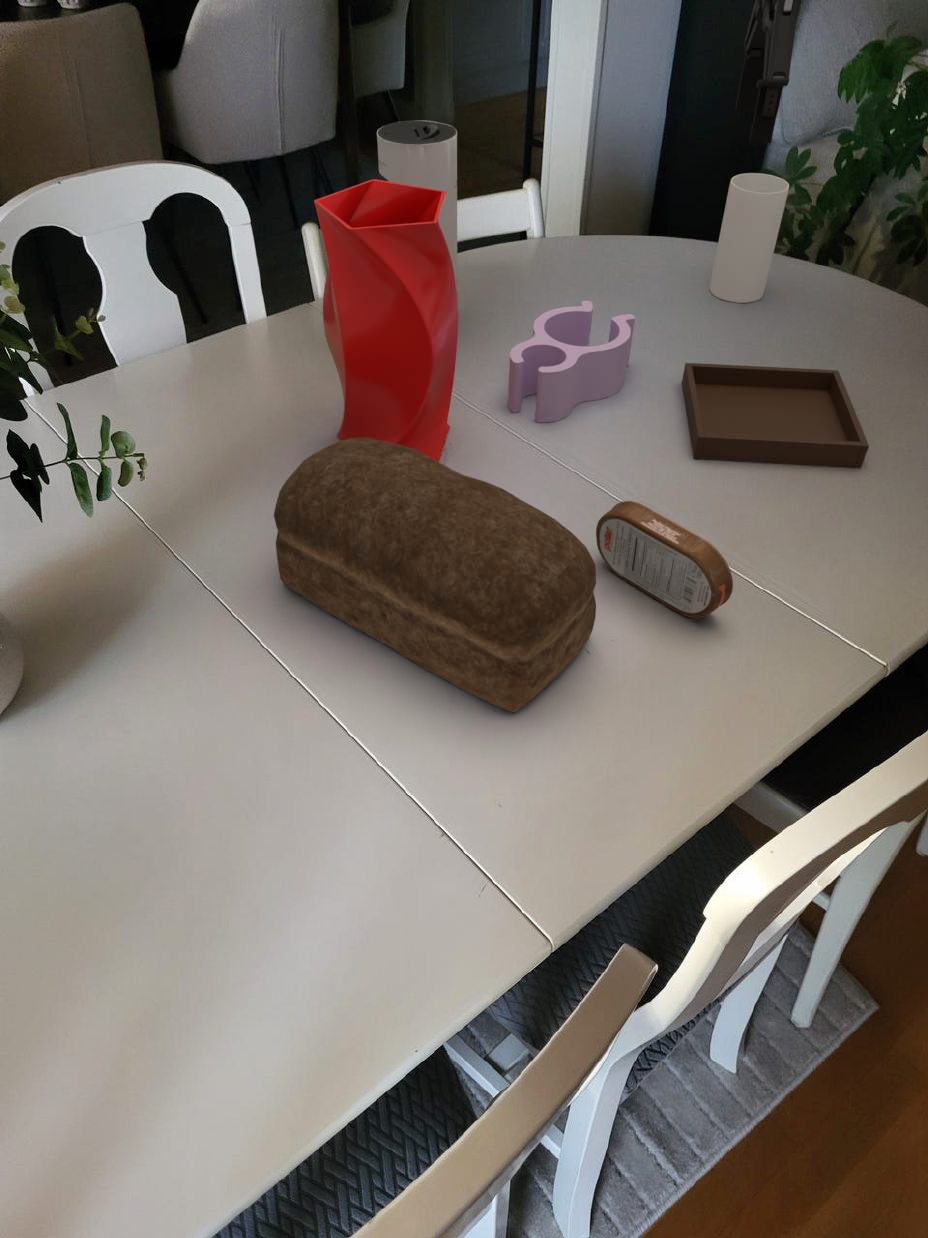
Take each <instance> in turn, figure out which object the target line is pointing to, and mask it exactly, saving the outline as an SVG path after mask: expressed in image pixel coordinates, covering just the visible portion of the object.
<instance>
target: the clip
mask: <svg viewBox="0 0 928 1238" xmlns="http://www.w3.org/2000/svg"><path fill="white" fill-rule="evenodd" d="M593 312H594V306H593V302H592V301H590V300H582V301H581V303H580V305H578V306H573V305H572V306H564V307H558V308H553V309H551V310H547V311H545V312H544V313H541V314H540V315H539V316H538V317H536V319H535V320H534V322H533V327H532V337H531V338H530V339H528V340H525V341H522V342H520V343H518V344H516V345H514V346H513V348H511V350H510V352H509V367H508V369H509V370H508V387H507V388H508V389H507V391H508V392H507V407H508V410H509V411H510V413H513V414H514V413H515V414H516V413H519V412H521V411H522V399H524V398H525V397H527V396H530V395H536V398H535V399H536V400H535V411H534V412H535V413H534V421H535V422H536V423H554V422H557V421H560V420H563V419H565V418H567V417H568V416H569V415H570V414H571V413H572V411H573V409H574V407H575V406H576V405H578V404H581V403H584V402H592V401H599V400H603V399H606V398H608V397H611V396H613V395H615V394H617V393H618V392H619V391H620V390H621V389H622V387H623V385H624V382H625V375H626V368H628V367H629V363H630V357H631V356H630V355H631V349H632V341H633V335H634V328H635V322H636V316H635V315H634V314H631V313H627V314H619V315H615V316H612V317H611V318H610V328H609V336H608V342H607V343H604V344H600V345H590V337H591V329H592V321H593Z"/></svg>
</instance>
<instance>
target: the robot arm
mask: <svg viewBox="0 0 928 1238" xmlns="http://www.w3.org/2000/svg"><path fill="white" fill-rule="evenodd" d="M799 5H800V0H755V1H754V5H753V9H752V12H751V16H750V20H749V23H748V27H747V30H746V33H745V37H744V39H743V47H744V56H745V57H744V60H743V65H742V70H741V76H740V80H739V87H738V92H737V98H736V102H735V107H734V108H735V109H734V110H735V112H751V113H752V112H753V119H752V124H751V127H750V134H749V138H748V141H749V143H756V144H757V143H759V144H771V143H772V140H773V136H774V130H775V126H776V121H777V117H778V111H779V108H780V102H781V97H782V93H783V89H784V87H788V85H789V82H790V72H791V64H792V57H793V48H794V42H795V41H794V39H795V32H796V25H797V15H798V10H799Z"/></svg>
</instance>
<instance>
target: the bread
mask: <svg viewBox="0 0 928 1238" xmlns="http://www.w3.org/2000/svg"><path fill="white" fill-rule="evenodd" d="M273 519H274V522H275V526H276V529H277V533H276V537H275V538H276V539H275V550H276V558H277V559H276V560H277V567H278V572H279V579H280V580H281V582H282V584H283V585H284V586H285V587H286V588H288V589H290V590H292V591H294V592H295V593H296V594H299V595H300V596H302V597H304V598H305V599H306V600H308V601H310V602H312V603H313V604H314V605H316V606H318V607H319V608H321V609H323V610H324V611H325V612H327V613H328V614H331V615H333V616H334V617H336V618H337V619H339V620H341V621H343V622H344V623H346V624H348V625H349V626H352V627H354V628H356V629H357V630H359V631H361V632H363V633H364V634H366V635H368V636H369V637H372V638H374V639H376V640H377V641H379V642H381V643H382V644H385V645H386V646H389V647H390V648H391V649H393V650H395V651H397V652H398V653H399V654H401V655H403V656H404V657H406V658H407V659H409V660H410V661H412V662H413V663H415V664H417V665H418V666H420V667H421V668H424V669H426V671H427V670H428V671H429V672H431V673H433V674H435V675H437V676H439V677H441V678H442V679H444V680H446V681H448V682H450V683H451V684H453V685H455V686H457V687H458V688H460V689H462V690H464V691H466V692H468V693H470V694H472V695H474V696H476V697H478V698H479V699H482V700H483V701H484V702H485V701H486V702H487V703H490V704H491V705H493V706H496V707H498V708H500V709H502V710H505V711H509V712H512V713H515V712H516V711H518V710H520V709H521V708H523V707H524V706H526V704H528V703H529V702H530V701H531V700H533V699H534V698H535V697H536V696H538V694H539V693H541V692H542V690H544V689H545V688H546V687H547V686H548V685H549V684H550V683H551V682H552V681H553V680H554V679H555V678H556V677H557V676H558V675H559V674H560V673H561V672H562V671H563V670H564V669H565V668H567V666H568V665H569V664H570V663H571V662H572V661H573V659H575V657H576V656H577V655H578V654H579V652H580V651H581V650H582V648H583V647H584V646H585V645H586V644H587V642H588V641H589V640H590V637H591V635H592V633H593V631H594V626H595V622H596V616H597V615H596V613H597V603H596V598H595V589H596V586H597V565H596V563H595V561H594V559H593V557H592V555H591V553H590V551H589V550H588V547H587V546H586V545H585V544H584V543H583V542H582V541H581V540H580V539H579V538H578V537H577V536H576V535H575V534H574V533H573V532H572V531H570V529H568V528H567V527H565V526H564V525H563V524H561V522H559V521H558V520H556V519H555V518H554V517H552V516H550V515H549V514H547V513H546V512H544V511H542V510H540V509H539V508H537V507H535V506H533V505H531V504H529V503H527V502H526V501H524V500H523V499H521V498H519V497H517V496H515V495H514V494H512V493H511V492H510V491H507V490H506V489H504V488H502V487H499V486H497V485H495V484H492V483H490V482H487V481H485V480H481V479H478V478H475V477H472V476H468V475H465V474H462V473H460V472H458V471H455V470H454V469H452V468H450V467H448V466H447V465H444V464H442V463H441V462H440V461H439V462H438V461H436V460H434V459H432V458H430V457H428V456H427V455H425V454H423V453H421V452H419V451H418V450H415V449H412V448H409V447H406V446H402V445H398V444H394V443H389V442H384V441H380V440H376V439H372V438H350V439H346V440H342V441H340V440H338V441H336V442H334V443H331V444H329V445H327V446H326V447H324V448H322V449H320V450H318V451H316V452H314V453H312V454H311V455H309V456H308V457H306V458H305V459H304V460H303V461H302V462H301V463H300V464H299V465H298V466H297V467H296V468H295V470H293V472H292V473H291V474H290V475H289V477H287V479H286V480H285V482H284V483H283V485H282V486H281V488H280V489H279V492H278V496H277V499H276V503H275V508H274V513H273Z"/></svg>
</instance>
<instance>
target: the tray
mask: <svg viewBox="0 0 928 1238" xmlns="http://www.w3.org/2000/svg"><path fill="white" fill-rule="evenodd" d="M681 389H682V394H683V396H682V397H683V401H684V407H685V408H684V409H685V413H686V419H687V425H688V431H689V437H690V445H691V450H692V457H693V459H694V460H708V461H709V460H710V461H726V462H728V461H729V462H743V463H744V462H746V463H747V462H748V463H762V464H763V463H764V464H782V465H784V464H785V465H800V466H817V467H818V466H819V467H834V468H835V467H837V468H838V467H839V468H855V469H862V467H863V464H864V460H865V458H866V456H867V453H868V450H869V447H870V445H869V443H868V440H867V437H866V435H865V433H864V429H863V427H862V425H861V423H860V420H859V418H858V415H857V413H856V410H855V408H854V406H853V403H852V401H851V398H850V395H849V393H848V390H847V388H846V385H845V383H844V381H843V378H842V376H841V374H840V371H839V370H837V369H820V368H819V369H818V368H802V367H801V368H799V367H779V366H761V365H760V366H759V365H738V364H722V363H721V364H718V363H701V362H699V363H698V362H697V363H696V362H685V365H684V369H683V373H682V380H681Z"/></svg>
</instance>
